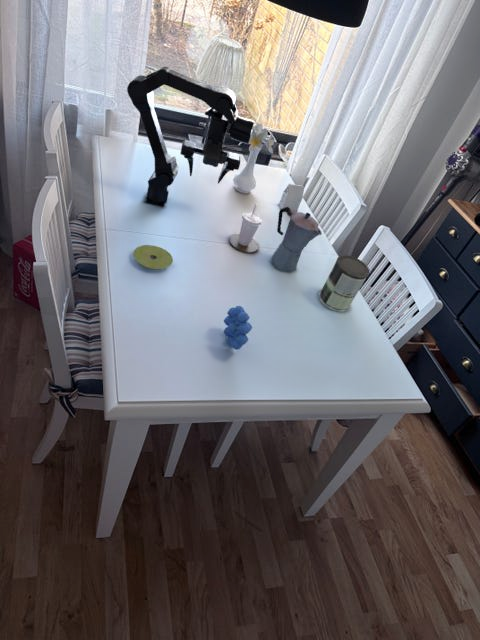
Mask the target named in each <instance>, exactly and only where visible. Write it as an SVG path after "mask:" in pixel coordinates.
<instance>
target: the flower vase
mask: <svg viewBox="0 0 480 640" xmlns="http://www.w3.org/2000/svg"><path fill="white" fill-rule="evenodd" d="M263 127H264V126H263V123H257V124H256V125H255V126H254V125H253V128H252V133H251V136H250V140H249V143H248V144H247V145H249V147H248V152H249V155H248V158H247V161H246V163H245V165H244V167H243V168H242V169H241V170H240V171H238V172H237V173H235V174H234V176H233V178H232V181H233V184H234V189H235V191H237V192H239V193H241V194H249V193H250V192H251V191H253V190H255V189H256V187H257V180H256V179H257V178H256V177H255V173H254V171H255V170H254V169H255V165H256V162H257V158H258V156H259V154H260V152H261V149H262V148H263V147H264V146H263V145H265V146H266V148H267V149H268V151H269V152H270V153H271V154H274V150H273V147H272V146H274V144H275V138H274V137H273V132H270V135H269V134H268V133H269V132H268V128H266V127H264V128H263ZM241 144H243V143H242V142H240V141H239V144H238V146H240V145H241Z"/></svg>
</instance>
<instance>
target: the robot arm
mask: <svg viewBox="0 0 480 640" xmlns="http://www.w3.org/2000/svg"><path fill="white" fill-rule="evenodd" d="M162 86H167V87H168V88H172V89H174V90H176V91H179V92H181V93H183V94H186V95H188V96H190V97H193V98H196V99H198V100H200V101H202V102H204V103H205V104H206V105H207V106H208V107H209V108H207V109H206V110H205V112H204V115H205V116H207V117H210V118H209V123H208V127H207V131H206V134H205V138H204V143H203V146H202V148H201V147H198V146H196V142H195V141H190V140H188V139H184V140H183V141H182V143H181V147H180V148H181V149H180V155H181V156H183V157H184V159H187V162H188V168H189V177H192V176H193V170H194V159H195V154H196V155H199V156H203V157H202V163H203V164H204V165H207V166H208V165H209V166H211V167H214V168H217V167H218V166H219V165H223V166H222V168H221V170H220V173H219V176H218V180H217V184H218V185H219V184H220V183H221V182H222V181H223V179H224V178H225V176H226V175H227V174H228V173H229V172H231V171H232V172H234V171H235V170H236V171H238V170H240V167H241V156H240V155H239V154H238V153H235V152H234V153H233V152H231V151H228V152H227V151H225V150H223V147H224V144H225V139H226V136H227V132H228V135H229V137H230V139H231V140H234V141H237V142H239V143H240V142H242V143H241V144H246V145H249V144H248V143H249V140H250V136H251V133H252V128H253V126H254V125H255V121H254V120H253V119H247V118H244V117H241V116H239V111H238V109H237V106H236V100H237V99H236V95H235V92H234V90H232V89H231V88H228V87H225V86H219V85H210V84H206V83H204V82H201V81H199V80H197V79H195V78H192V77H190V76H187V75H185V74H183V73H181V72H177V71H176V70H173V69H171V68H170V67H168V66H162V67H161V68H159V69H158V70H156V71H154V72H151V73H149V74H147V75H142V74H139V75H137V76H136V77H135V78H133V79H132V80H131V81H130V82H129V83H128V84H127V88H126V92H127V95H128V97H129V99H130V101H131V103H132V105H133V106H134V108H135V109H136V110H137V111H138V112H139V115H140V117H141V121H142V124H143V127H144V130H145V133H146V136H147V140H148V143H149V145H150V148H151V152H152V154H153V159H154V171H153V173H152V174H151V176H150V177H149V179H148V180H147V184H148V185H147V191H146V196H145V200H144V202H145V203H146V204H150V205H154V206H158V207H162V208H163V207H164V208H165V205H166V204H167V202H168V197H169V192H170V189H169V186H171V185H172V184H173V183H174V181H175V179H176V177H177V176H178V172H179V168H180V166H179V165H178V163H177V158H176V156H171V155H170V154H169V152H168V149H167V146H166V143H165V139H164V137H163V133H162V130H161V126H160V123H159V120H158V116H157V113H156V111H155V94H154V91H156V90H157V89H158V88H160V87H162ZM229 125H230V126H229Z"/></svg>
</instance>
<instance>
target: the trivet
mask: <svg viewBox="0 0 480 640" xmlns="http://www.w3.org/2000/svg"><path fill="white" fill-rule="evenodd" d="M239 235H240V233H235V234H232V235H231V236H230V237H229V239H228V241H229V245H230V246H231V247H232V248H233V249H234V250H236V251H238V252H241V253H243V254H254V253H256V252H258V250H259V243H258V242H257V241H256V240H255V239H254V238H252V240H251V242H250V243H249V245H248V246H243V245H241V244H240V243H239V242H238V240H239Z"/></svg>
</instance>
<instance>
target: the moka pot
mask: <svg viewBox="0 0 480 640" xmlns="http://www.w3.org/2000/svg"><path fill="white" fill-rule="evenodd" d="M283 213H286V215H287V216H288V217H289V218H290V219H289V221H288V223H287V227H286V229H285V230H286V231H285V233H284V232H283V231H282V221H283ZM311 215H312V214H311V213H309V212H306V213H304V212H302V211H301V212H299V211H293V210H291V209H290V208H289V207H285V208H283V209H281V208H280V209H279V212H278V221H277V227H276V228H277V229H276V233H278V234H279V235H280V236H283V239H282V240H281V242H280V244H279V245H278V247H277V248H276V250H275V251H274V252H273V254H272V255H271V257H270V261H271V263H272V265H273V267H275V268H277V269H278V270H280V271H281V272H285V273H292V272H294V271H296V268H297V266H298V263H299V261H300V258H301V255H302V252H303V250H304V249H305V248H306V247H307V246H308V244H309V243H310V242H311V241H312V240H313V239H315V238H316V237H318V236H322V231H321V229H320V228H319V225H320V223H318V221H317V220H316V219H315V218H314V217H313V216H311Z"/></svg>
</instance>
